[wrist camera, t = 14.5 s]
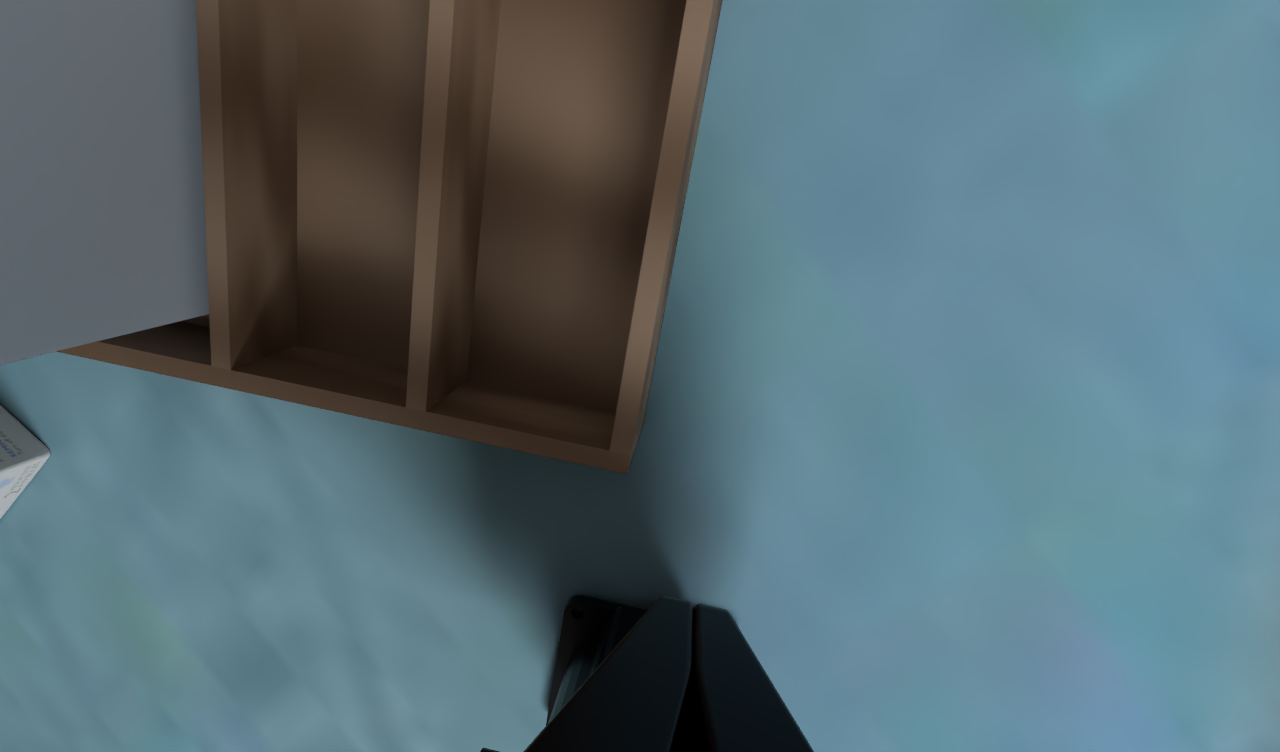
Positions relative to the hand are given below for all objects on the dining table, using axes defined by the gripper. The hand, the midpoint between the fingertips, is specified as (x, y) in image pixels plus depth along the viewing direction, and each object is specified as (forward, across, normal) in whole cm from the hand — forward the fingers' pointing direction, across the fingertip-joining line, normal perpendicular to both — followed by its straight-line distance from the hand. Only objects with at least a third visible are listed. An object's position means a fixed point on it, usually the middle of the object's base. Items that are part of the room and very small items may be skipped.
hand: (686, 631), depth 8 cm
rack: (+13, +11, -5) cm, 18 cm away
